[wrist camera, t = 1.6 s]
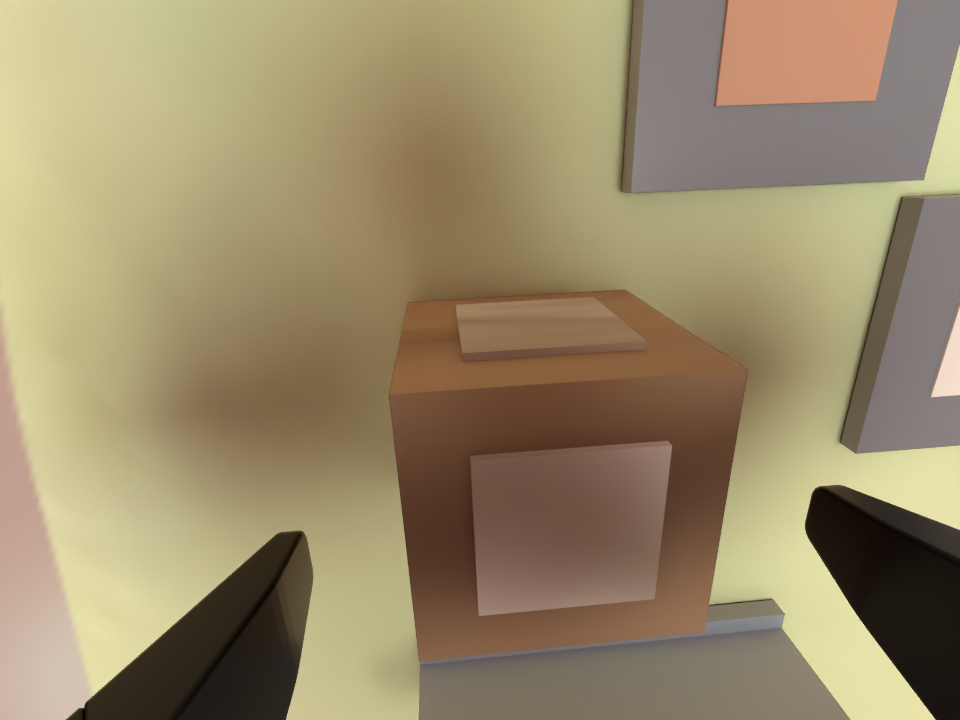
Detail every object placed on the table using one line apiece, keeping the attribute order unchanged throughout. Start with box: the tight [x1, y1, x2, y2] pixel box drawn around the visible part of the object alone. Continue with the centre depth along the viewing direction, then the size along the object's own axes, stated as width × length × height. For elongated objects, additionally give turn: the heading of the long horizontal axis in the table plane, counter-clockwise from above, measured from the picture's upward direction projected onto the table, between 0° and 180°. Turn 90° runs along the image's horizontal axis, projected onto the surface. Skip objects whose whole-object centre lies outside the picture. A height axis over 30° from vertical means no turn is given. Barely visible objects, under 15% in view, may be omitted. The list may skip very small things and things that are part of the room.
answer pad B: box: [622, 0, 960, 193], centre depth 11 cm, size 7×7×1 cm
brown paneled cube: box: [389, 290, 748, 661], centre depth 11 cm, size 6×6×6 cm
